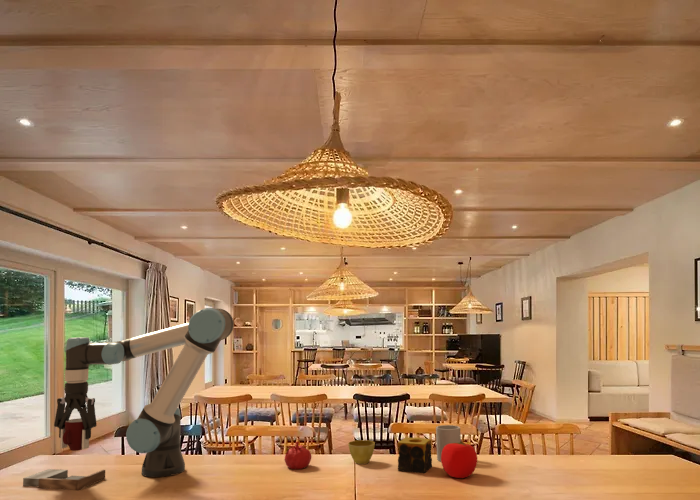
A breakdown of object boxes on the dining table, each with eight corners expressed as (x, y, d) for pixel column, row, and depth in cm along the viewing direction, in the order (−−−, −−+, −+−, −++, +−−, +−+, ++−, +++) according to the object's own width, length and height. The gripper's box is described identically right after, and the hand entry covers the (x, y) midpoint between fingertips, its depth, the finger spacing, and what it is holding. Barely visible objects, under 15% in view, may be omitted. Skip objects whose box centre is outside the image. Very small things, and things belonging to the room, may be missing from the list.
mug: (76, 454, 201) (77, 423, 202) (54, 453, 202) (55, 423, 203) (94, 447, 211) (94, 418, 212) (73, 446, 212) (74, 418, 213)
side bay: (106, 478, 210) (106, 469, 210) (78, 490, 196) (78, 480, 196) (50, 475, 215) (50, 466, 215) (19, 486, 201) (19, 477, 201)
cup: (434, 457, 229) (433, 425, 230) (457, 456, 230) (456, 424, 231) (440, 463, 220) (439, 430, 221) (464, 462, 221) (463, 429, 222)
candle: (397, 471, 210) (396, 442, 211) (405, 464, 220) (404, 436, 221) (425, 473, 207) (424, 444, 208) (432, 466, 216) (431, 438, 217)
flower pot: (375, 465, 219) (375, 445, 220) (348, 466, 219) (347, 446, 220) (374, 459, 229) (374, 439, 230) (348, 459, 229) (348, 440, 230)
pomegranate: (316, 466, 221) (316, 440, 222) (300, 472, 212) (300, 445, 213) (295, 462, 226) (295, 437, 227) (278, 468, 218) (279, 442, 219)
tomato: (436, 479, 198) (435, 444, 200) (445, 469, 211) (444, 436, 212) (473, 482, 194) (472, 446, 195) (480, 472, 207) (479, 438, 208)
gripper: (109, 380, 210) (107, 446, 208) (58, 380, 215) (56, 444, 213) (95, 383, 203) (93, 451, 200) (43, 382, 208) (41, 449, 205)
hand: (74, 448), depth 206 cm, fingers closed on mug, 8 cm apart
